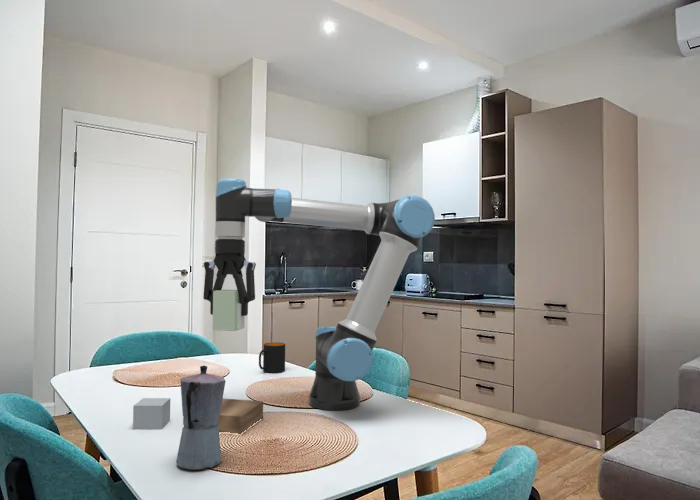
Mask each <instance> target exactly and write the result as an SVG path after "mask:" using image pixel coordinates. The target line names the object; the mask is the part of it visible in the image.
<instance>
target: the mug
mask: <svg viewBox="0 0 700 500" xmlns="http://www.w3.org/2000/svg"><path fill="white" fill-rule="evenodd" d="M258 354H259V355H258V367H259V369H261V370H262V371H263V373H265V374H283V373H285V371H286V343H283V342H266V343H263V349H262V350H261V351H260V352H259V353H258ZM262 354H263V361H262Z"/></svg>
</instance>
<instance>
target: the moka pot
mask: <svg viewBox="0 0 700 500" xmlns="http://www.w3.org/2000/svg"><path fill="white" fill-rule="evenodd" d="M199 370H200V373H197V374H192V375H188V376H184V377H181V378H180V394H181V395H180V396H181V408H182V409H181V410H182V416H183V417H182V425H183V427H182V429H181V436H180V438H179V439H180V440H179V446H178V450H177V455H176V459H175V463H176V466H178V467H179V468H181V469H187V470H192V471H194V470H203V469H204V470H205V469H209V468H213V467H215V466H217V465H219V464H220V463H221V461H222V455H221V454H222V453H221V441H220V434H219V427H218V425H217V424H218V421H219V415H220V412H221V406H222V400H223V398H224V392H225V386H226V379H225V378H224V376H222V375H216V374H211V373H207V370H208V366H207V365H201V366H199Z"/></svg>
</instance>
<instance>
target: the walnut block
mask: <svg viewBox="0 0 700 500" xmlns="http://www.w3.org/2000/svg"><path fill="white" fill-rule="evenodd" d="M262 418H263V419H264V401H262V400H252V399H251V400H250V399H249V400H247V399H239V398H237V399H235V398H224V397H223V400H222V406H221V412H220V415H219V421H218V424H217V425H218V427H219V432H230V433H238V434H241V433H242V432H244V431H245V430H247V429H248V428H249V427H250V426H252V425H253V424H254V423H256V422H257V421H259V420H260V419H262ZM263 419H262V420H263Z"/></svg>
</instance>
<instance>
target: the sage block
mask: <svg viewBox="0 0 700 500" xmlns="http://www.w3.org/2000/svg"><path fill="white" fill-rule="evenodd" d="M240 302H241V301H240V298H239V294H238V291H237V289H222V290H217V291H213V315H212V331H222V332H223V331H224V332H225V331H227V332H236V331H240V330H243V329H244V328H242V329H237V312H238V303H240Z"/></svg>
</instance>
